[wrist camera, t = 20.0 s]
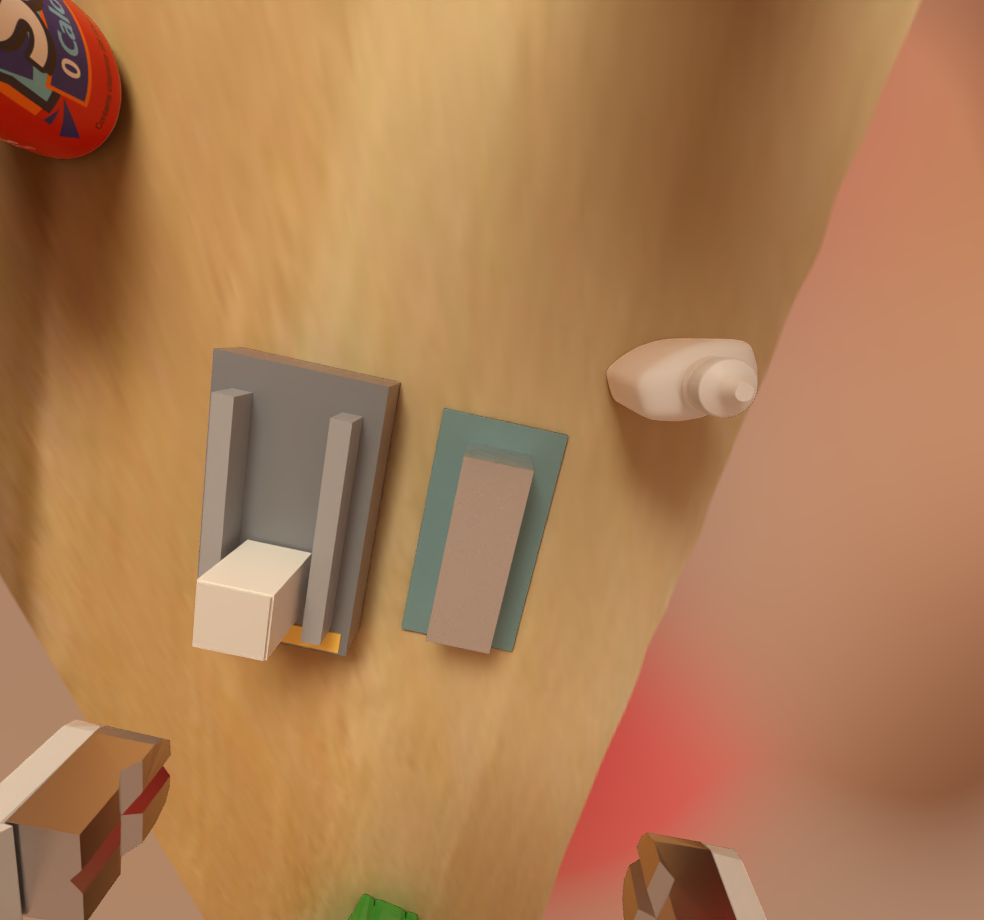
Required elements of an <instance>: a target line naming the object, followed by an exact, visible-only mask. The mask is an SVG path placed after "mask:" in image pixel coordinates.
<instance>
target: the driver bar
mask: <svg viewBox="0 0 984 920" xmlns="http://www.w3.org/2000/svg"><path fill="white" fill-rule="evenodd" d="M533 473H534V469H533V464H532V459H531V454H526V453H521V452H517V451H512V450H507V449H503V448H498V447H494V446H489V445H484V444H480V443H475V442H470V441H469V443H468V446H467V449H466V451H465V454H464V458H463V462H462V467H461V472H460V477H459V482H458V487H457V492H456V496H455V501H454V506H453V511H452V516H451V521H450V526H449V530H448V535H447V540H446V545H445V550H444V555H443V560H442V564H441V569H440V574H439V579H438V584H437V589H436V594H435V598H434V603H433V608H432V613H431V618H430V623H429V628H428V632H427V637H426V641H429V642H433V643H438V644H443V645H448V646H453V647H458V648H463V649H468V650H472V651H477V652H482V653H487V654H489V653H490V649H491V645H492V641H493V636H494V632H495V628H496V624H497V620H498V616H499V612H500V608H501V604H502V600H503V596H504V592H505V588H506V584H507V579H508V575H509V571H510V567H511V563H512V559H513V555H514V551H515V547H516V543H517V539H518V535H519V531H520V526H521V522H522V518H523V514H524V510H525V506H526V502H527V498H528V494H529V490H530V486H531V482H532V478H533Z"/></svg>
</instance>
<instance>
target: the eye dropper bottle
mask: <svg viewBox="0 0 984 920" xmlns="http://www.w3.org/2000/svg"><path fill="white" fill-rule="evenodd" d="M606 377H607V381H608V384H609V388H610V391H611V394H612V397H613V398H614V400H615V401H616V402H618V403H620V404H622V405H623V406H625V407H627V408H628V409H630V410H632V411H634V412H635V413H637V414H639V415H641V416H643V417H646V418H648V419H651V420H657V421H684V420H691V419H696V418H701V417H704V416H707V415H711V416H714V417H718V418H727V417H728V418H729V417H733V416H736V415H739V414H740V413H742V412H744V411H745V410H747V408H748V407H749V406H750V405H751V403H752V402H753V400H754V399H755V397H756V394H757V390H758V389H757V388H758V383H757V382H758V380H757V379H758V369H757V364H756V359H755V355H754V352H753V349H752V348H751V346H750V345H749V344H748V343H746V342H744V341H741V340H735V339H717V338H670V339H662V340H657V341H653V342H650V343H646V344H644V345H641V346H639V347H637V348H635V349H633V350H631V351H629V352H627V353H626V354H624V355H623V356H621V357H620V358H619V359H617V360H616V361H615V362H614V363H613V364H612V365H611V366H610V367H609V368H608V370H607V372H606Z"/></svg>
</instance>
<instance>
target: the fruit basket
mask: <svg viewBox="0 0 984 920" xmlns="http://www.w3.org/2000/svg"><path fill="white" fill-rule="evenodd" d="M348 920H418V916H417V915H416V914H415V913H411V912H406V913H405V911H404V910H403V909H401V908H400V907H397V906H394V905H392V904H390V903H387V902H385V901H382V900H374V898H372V897H371V896H369V895H367V894H364V895H363V896H362V897H361V899H360V901H359V902H358V904H357V906H356V908H355V910H354V912H353V913H352V914H351V916H350V917H349V919H348Z"/></svg>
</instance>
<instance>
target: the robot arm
mask: <svg viewBox="0 0 984 920" xmlns="http://www.w3.org/2000/svg"><path fill="white" fill-rule="evenodd" d="M170 756H171V750H170V740H167V739H163V738H158V737H154V736H150V735H145V734H141V733H136V732H132V731H128V730H123V729H119V728H114V727H110V726H106V725H101V724H96V723H91V722H86V721H81V720H74V721H72V722H70V723H68V724H66V725H65V726H63V727H61V728H60V729H59V730H58V731H57V732H56V733H55V734H54V735H53V736H51V737H50V738H49V739H48V740H47V741H46V742H45V743H44V744H43V745H42V746H41V747H39V748H38V749H37V750H36V751H35V752H34V753H33V754H32V755H31V756H30V757H28V758H27V759H26V760H25V761H24V762H23V763H22V764H21V765H20V766H19V767H17V768H16V769H15V770H14V771H13V772H12V773H11V774H10V775H9V776H8V777H6V778H5V779H4V780H3V781H2V782H1V783H0V920H23V917H22V916H25V917H31V918H38V919H45V920H88V919H89V918H90V917H91V915H92V914H93V912H94V911H95V909H96V908H97V907H98V905H99V904H100V902H101V901H102V899H103V898H104V897H105V895H106V894H107V892H108V891H109V889H110V888H111V887H112V885H113V884H114V882H115V881H116V880H117V878H118V877H119V875H120V872H121V856H123V855H124V854H126V853H127V852H129V851H130V850H132V849H133V848H135V847H137V846H138V845H140V844H141V843H142V842H143V841H144V840H145V838H146V837H147V835H148V834H149V832H150V831H151V829H152V828H153V826H154V825H155V823H156V821H157V819H158V817H159V815H160V813H161V811H162V809H163V807H164V805H165V803H166V799H167V796H168V792H169V788H170V775H169V773H168V772H167V771H166V769H165V768H164V767H163V765H164V763H165V762H166V761H167V759H168V758H169V757H170ZM637 849H638V854H639V858H640V859H639V860H637V861H636V862H634V863H632V864H631V865H629V867H628V870H627V873H626V876H625V879H624V887H623V914H624V920H767V918H766V915H765V913H764V911H763V909H762V906H761V904H760V901H759V899H758V897H757V895H756V892H755V890H754V888H753V885H752V883H751V881H750V878H749V876H748V874H747V871H746V869H745V867H744V865H743V862H742V860H741V858H740V856H739V855H738V854H737V853H736V851H735V850H732V849H729V848H724V847H719V846H714V845H708V844H702V843H701V842H697V841H691V840H686V839H680V838H675V837H669V836H664V835H658V834H652V833H646V834H644V835H643V836H641V839H640V841H639V843H638V846H637Z"/></svg>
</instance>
